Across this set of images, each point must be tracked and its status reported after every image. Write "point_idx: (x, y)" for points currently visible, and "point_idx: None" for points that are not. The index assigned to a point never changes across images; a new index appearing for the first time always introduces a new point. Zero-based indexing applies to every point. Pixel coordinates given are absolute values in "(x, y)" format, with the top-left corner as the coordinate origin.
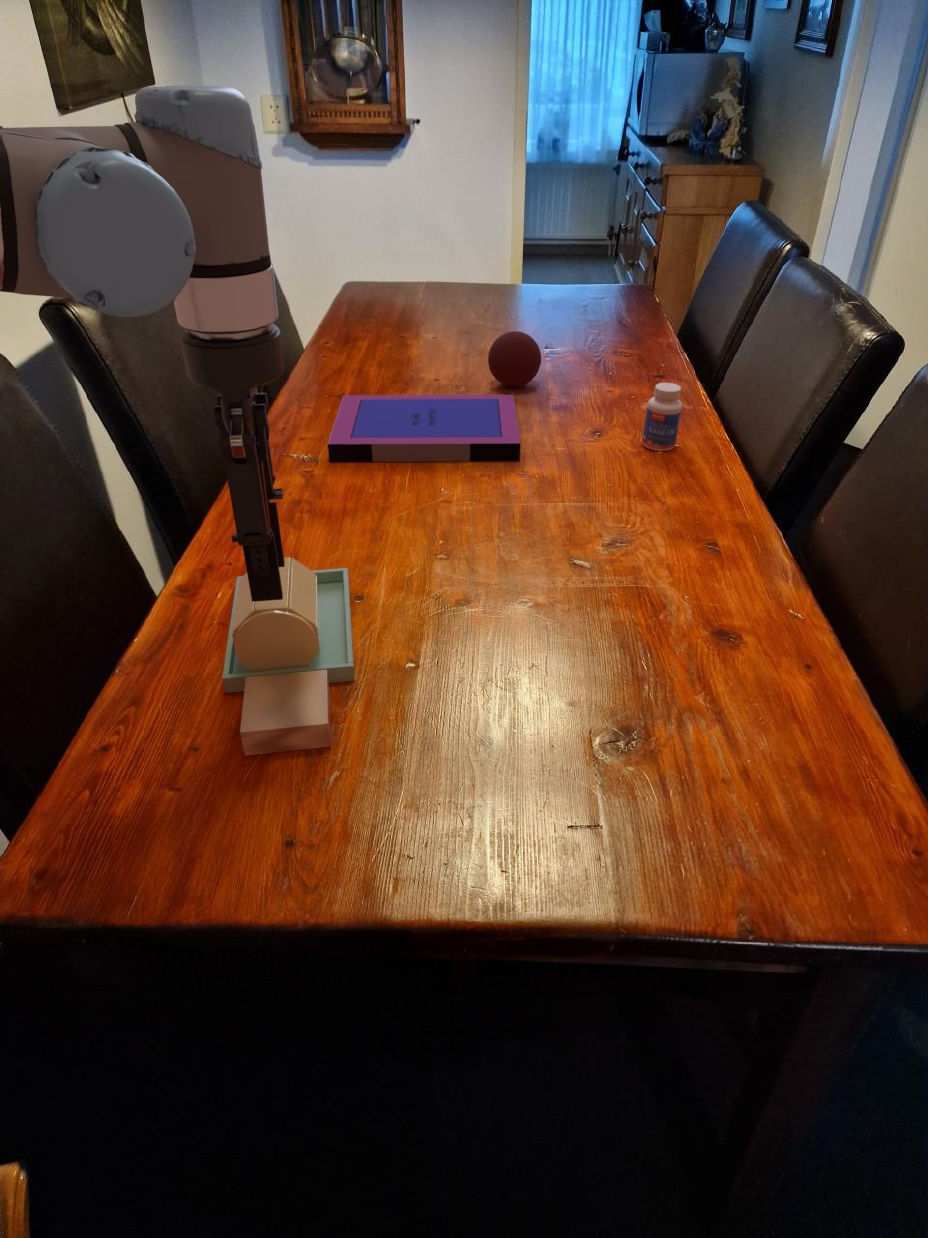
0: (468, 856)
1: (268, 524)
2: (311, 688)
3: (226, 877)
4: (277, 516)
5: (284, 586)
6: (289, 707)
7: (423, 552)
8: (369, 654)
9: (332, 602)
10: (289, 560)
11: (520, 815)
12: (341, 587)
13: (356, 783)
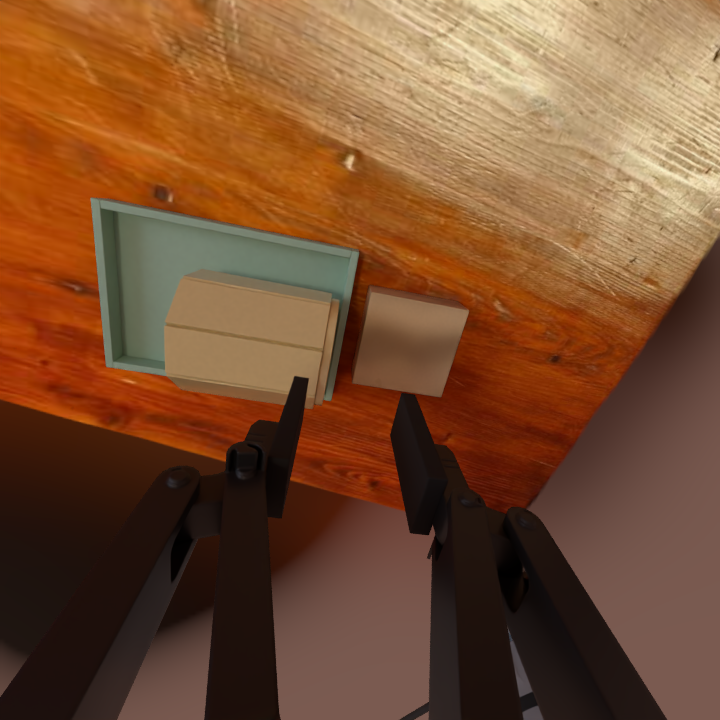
0: (669, 201)
1: (487, 524)
2: (400, 317)
3: (559, 407)
4: (291, 439)
5: (261, 348)
6: (423, 346)
7: (2, 11)
8: (308, 215)
9: (175, 240)
10: (176, 328)
11: (663, 116)
12: (132, 217)
13: (519, 287)
